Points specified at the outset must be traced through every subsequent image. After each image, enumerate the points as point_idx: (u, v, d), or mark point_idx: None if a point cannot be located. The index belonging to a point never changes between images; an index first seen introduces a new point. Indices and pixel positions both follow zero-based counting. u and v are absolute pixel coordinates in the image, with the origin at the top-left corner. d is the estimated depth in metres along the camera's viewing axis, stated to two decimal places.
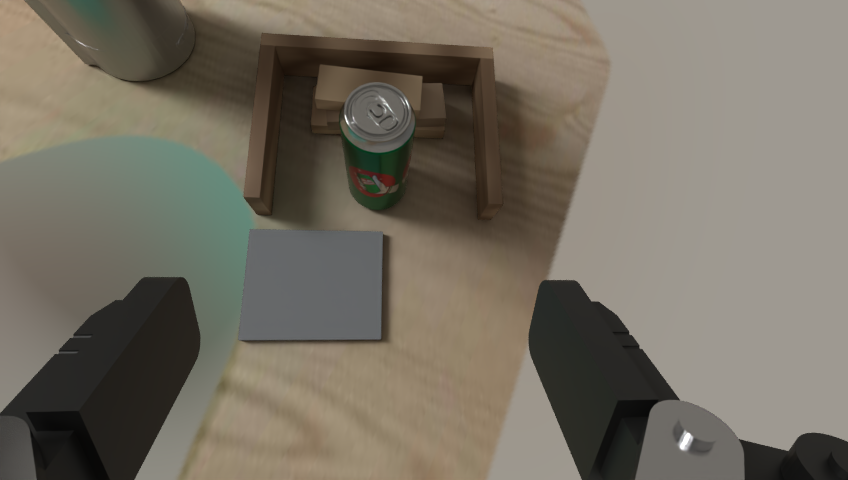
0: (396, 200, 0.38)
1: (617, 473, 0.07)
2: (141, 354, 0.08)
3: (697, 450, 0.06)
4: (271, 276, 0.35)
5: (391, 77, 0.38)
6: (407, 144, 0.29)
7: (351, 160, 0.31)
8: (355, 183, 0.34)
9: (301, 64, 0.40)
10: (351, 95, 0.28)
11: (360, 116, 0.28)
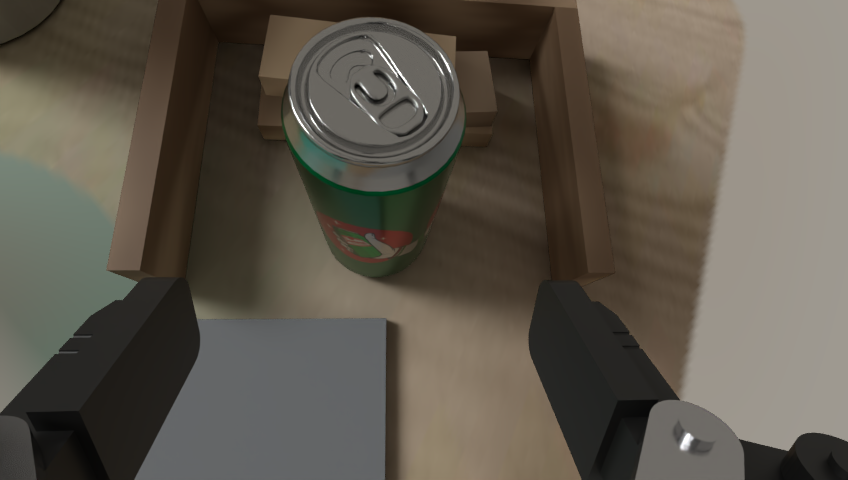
0: (410, 261, 0.21)
1: (617, 472, 0.07)
2: (141, 354, 0.08)
3: (697, 450, 0.06)
4: (174, 414, 0.19)
5: None
6: (447, 169, 0.12)
7: (317, 202, 0.14)
8: (332, 239, 0.17)
9: (244, 20, 0.23)
10: (309, 48, 0.11)
11: (330, 101, 0.11)
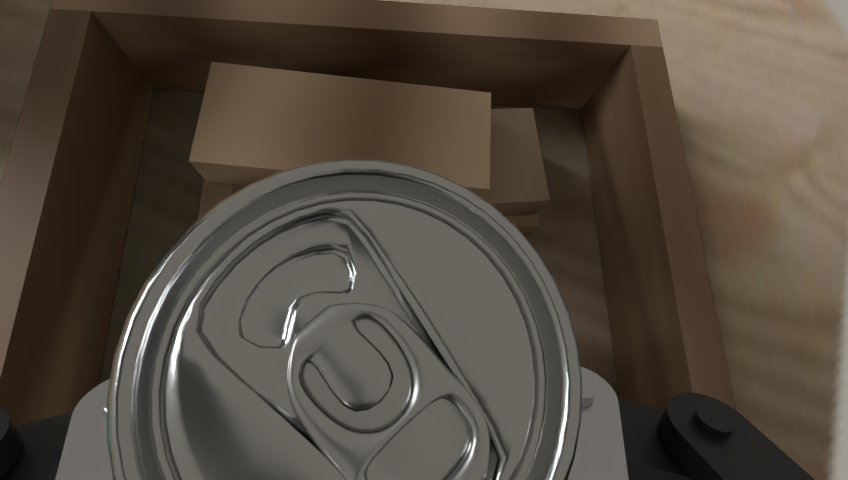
0: None
1: None
2: None
3: None
4: None
5: (408, 96, 0.14)
6: None
7: None
8: None
9: (183, 62, 0.16)
10: (181, 258, 0.04)
11: (227, 434, 0.04)
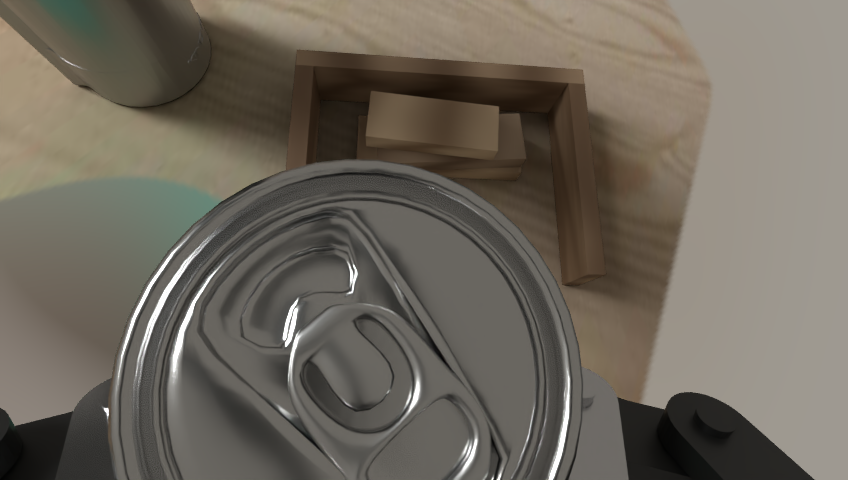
0: None
1: None
2: None
3: None
4: None
5: (460, 108, 0.30)
6: None
7: None
8: None
9: (343, 87, 0.32)
10: (182, 258, 0.04)
11: (228, 434, 0.04)
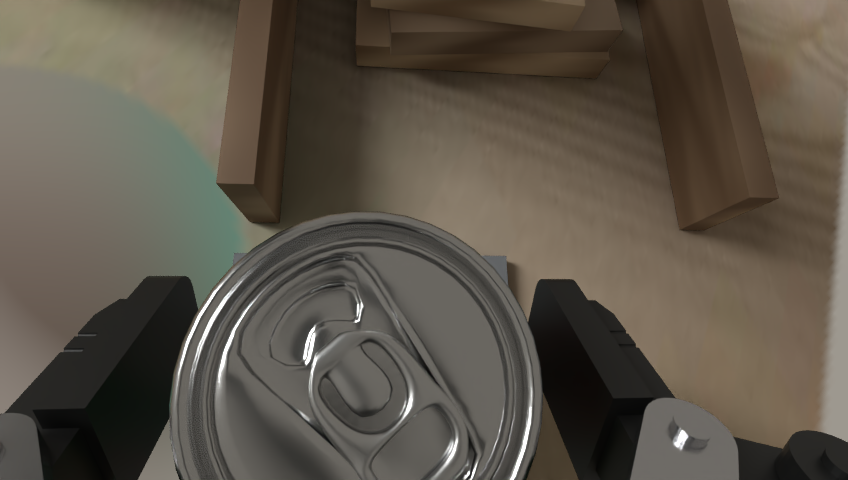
0: None
1: (612, 471, 0.07)
2: (146, 353, 0.08)
3: (691, 448, 0.06)
4: None
5: None
6: None
7: None
8: None
9: None
10: (224, 294, 0.05)
11: (263, 434, 0.05)
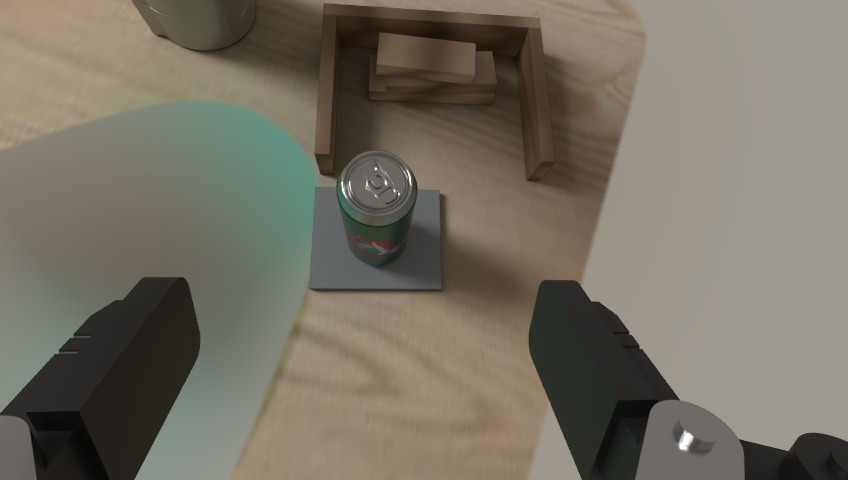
0: (397, 256, 0.36)
1: (616, 473, 0.07)
2: (141, 354, 0.08)
3: (697, 450, 0.06)
4: (337, 230, 0.38)
5: (446, 44, 0.40)
6: (408, 215, 0.27)
7: (349, 227, 0.29)
8: (354, 244, 0.33)
9: (358, 34, 0.42)
10: (349, 165, 0.26)
11: (358, 189, 0.26)
